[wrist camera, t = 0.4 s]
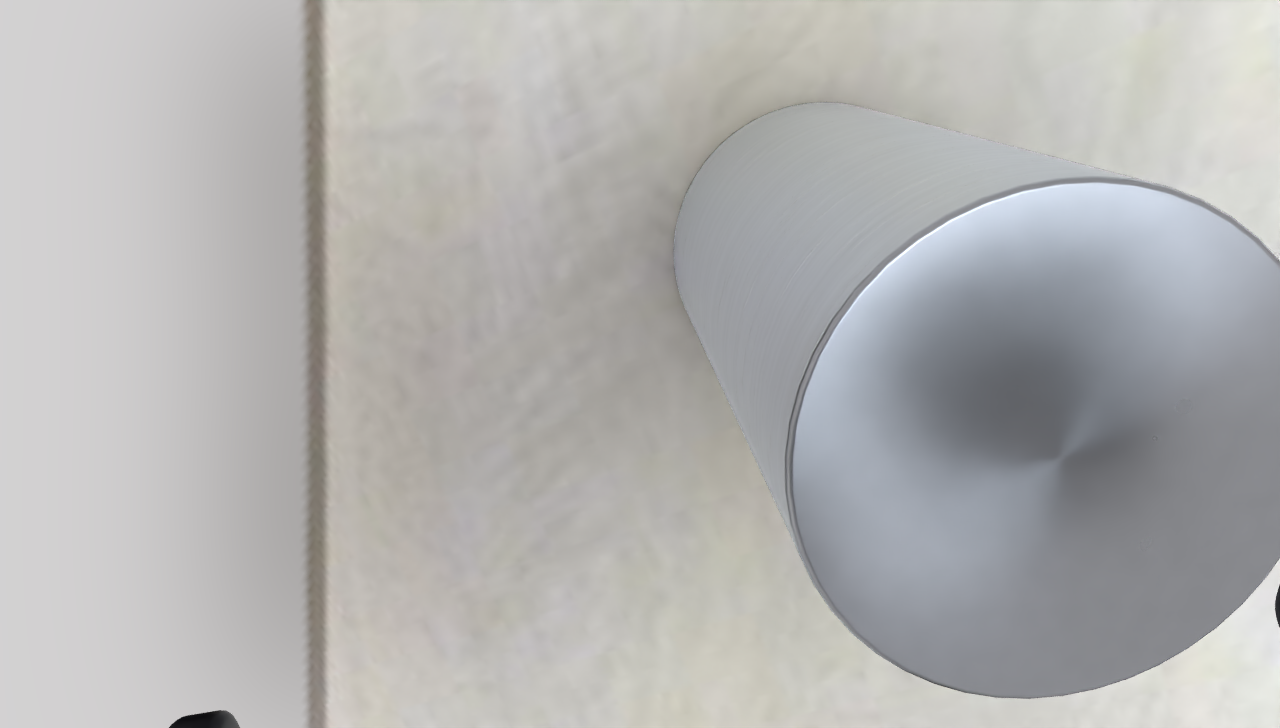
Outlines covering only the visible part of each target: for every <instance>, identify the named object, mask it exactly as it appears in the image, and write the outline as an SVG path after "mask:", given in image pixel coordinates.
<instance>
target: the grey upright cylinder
mask: <svg viewBox="0 0 1280 728" xmlns="http://www.w3.org/2000/svg"><path fill="white" fill-rule="evenodd" d="M673 250H674V270H675V275H676V281H677V287H678V290H679V293H680V296H681V299H682V302H683V305H684V307H685V309H686V311H687V313H688V316H689V318H690V320H691V322H692V324H693V326H694V329H695V331H696V333H697V335H698V337H699V339H700V341H701V344H702V346H703V348H704V350H705V352H706V354H707V357H708V359H709V361H710V363H711V365H712V367H713V369H714V372H715V374H716V376H717V378H718V380H719V382H720V385H721V387H722V389H723V391H724V393H725V395H726V397H727V400H728V402H729V404H730V406H731V408H732V410H733V413H734V415H735V417H736V419H737V421H738V423H739V426H740V428H741V430H742V432H743V434H744V436H745V438H746V441H747V443H748V445H749V447H750V449H751V451H752V454H753V456H754V458H755V460H756V462H757V464H758V466H759V469H760V471H761V473H762V475H763V477H764V479H765V482H766V484H767V486H768V488H769V490H770V492H771V494H772V497H773V499H774V501H775V503H776V505H777V507H778V510H779V512H780V514H781V516H782V518H783V520H784V522H785V525H786V527H787V529H788V531H789V533H790V535H791V538H792V540H793V542H794V544H795V546H796V548H797V550H798V553H799V555H800V557H801V559H802V561H803V563H804V565H805V567H806V570H807V572H808V574H809V576H810V578H811V580H812V582H813V584H814V586H815V587H816V589H817V590H818V592H819V593H820V595H821V596H822V598H823V599H824V601H825V602H826V604H827V605H828V607H829V608H830V610H831V611H832V612H833V613H834V614H835V615H836V616H837V618H838V619H839V620H840V621H841V622H842V623H843V624H844V625H845V626H846V627H847V629H848V630H849V631H850V632H851V633H852V634H853V635H854V636H856V637H857V638H858V639H859V640H860V641H862V642H863V643H864V644H865V645H866V646H868V647H869V648H870V649H871V650H872V651H874V652H875V653H876V654H878V655H879V656H881V657H883V658H884V659H886V660H888V661H889V662H891V663H892V664H894V665H896V666H897V667H899V668H901V669H902V670H904V671H906V672H909V673H911V674H913V675H916V676H918V677H920V678H922V679H925V680H927V681H929V682H931V683H934V684H937V685H941V686H944V687H948V688H951V689H955V690H958V691H961V692H965V693H971V694H978V695H984V696H990V697H998V698H1027V699H1030V698H1042V697H1054V696H1064V695H1069V694H1074V693H1079V692H1084V691H1089V690H1094V689H1097V688H1100V687H1104V686H1107V685H1110V684H1113V683H1116V682H1119V681H1122V680H1126V679H1128V678H1131V677H1133V676H1135V675H1137V674H1140V673H1142V672H1144V671H1146V670H1149V669H1151V668H1153V667H1156V666H1158V665H1160V664H1161V663H1163V662H1165V661H1167V660H1168V659H1170V658H1172V657H1174V656H1175V655H1177V654H1179V653H1181V652H1182V651H1184V650H1186V649H1187V648H1189V647H1190V646H1192V645H1193V644H1195V643H1196V642H1197V641H1199V640H1200V639H1201V638H1203V637H1204V636H1206V635H1207V634H1208V633H1210V632H1211V631H1212V630H1214V629H1215V628H1217V627H1218V626H1219V625H1220V624H1221V623H1222V622H1223V621H1224V620H1225V619H1226V618H1228V617H1229V616H1230V615H1231V614H1232V613H1233V612H1234V611H1235V610H1236V609H1238V608H1239V607H1240V606H1241V605H1242V604H1243V603H1244V602H1245V601H1246V599H1247V598H1248V597H1249V596H1250V595H1251V594H1252V593H1253V592H1254V590H1255V589H1256V588H1257V587H1258V586H1259V585H1260V584H1261V583H1262V581H1263V580H1264V579H1265V578H1266V577H1267V575H1268V574H1269V572H1270V571H1271V570H1272V568H1273V567H1274V565H1275V564H1276V563H1277V561H1278V560H1279V558H1280V261H1279V260H1278V259H1277V258H1276V256H1275V255H1274V254H1273V253H1272V252H1271V251H1270V250H1269V249H1268V248H1267V247H1266V246H1265V245H1264V243H1263V242H1262V241H1261V240H1260V239H1259V238H1258V237H1257V236H1256V235H1254V234H1253V233H1252V232H1250V231H1249V230H1248V229H1247V228H1245V227H1244V226H1243V225H1242V224H1240V223H1239V222H1238V221H1237V220H1235V219H1234V218H1233V217H1232V216H1230V215H1228V214H1226V213H1225V212H1223V211H1221V210H1219V209H1218V208H1216V207H1214V206H1212V205H1210V204H1209V203H1207V202H1205V201H1203V200H1202V199H1199V198H1197V197H1194V196H1192V195H1189V194H1186V193H1184V192H1181V191H1178V190H1176V189H1173V188H1171V187H1168V186H1164V185H1160V184H1157V183H1153V182H1149V181H1145V180H1141V179H1137V178H1133V177H1130V176H1126V175H1122V174H1118V173H1114V172H1110V171H1106V170H1103V169H1099V168H1095V167H1091V166H1087V165H1083V164H1079V163H1076V162H1072V161H1068V160H1064V159H1060V158H1056V157H1052V156H1049V155H1045V154H1041V153H1037V152H1033V151H1029V150H1025V149H1022V148H1018V147H1014V146H1010V145H1006V144H1002V143H999V142H995V141H991V140H987V139H983V138H979V137H975V136H972V135H968V134H964V133H960V132H956V131H952V130H948V129H945V128H941V127H937V126H933V125H929V124H925V123H921V122H918V121H914V120H910V119H906V118H902V117H898V116H894V115H891V114H887V113H883V112H879V111H875V110H871V109H867V108H863V107H859V106H855V105H850V104H845V103H833V102H816V103H804V104H799V105H794V106H789V107H785V108H782V109H779V110H776V111H773V112H770V113H768V114H766V115H764V116H762V117H760V118H757V119H755V120H753V121H751V122H750V123H748V124H747V125H745V126H744V127H742V128H741V129H739V130H738V131H736V132H735V133H733V134H732V135H731V136H730V137H729V138H728V139H726V140H725V141H724V142H723V143H722V144H721V145H719V147H718V148H717V149H716V150H715V151H714V152H713V153H712V154H711V155H710V157H709V158H708V159H707V160H706V161H705V163H704V164H703V166H702V167H701V168H700V170H699V171H698V173H697V174H696V176H695V177H694V179H693V181H692V183H691V185H690V187H689V189H688V191H687V193H686V195H685V198H684V201H683V203H682V206H681V209H680V212H679V216H678V220H677V225H676V229H675V238H674V249H673Z"/></svg>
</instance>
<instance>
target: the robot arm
mask: <svg viewBox="0 0 1280 728" xmlns="http://www.w3.org/2000/svg"><path fill="white" fill-rule="evenodd" d="M1275 611H1276V617H1277V621H1278V624H1279V627H1280V586H1279V589H1278V592H1277V596H1276V601H1275ZM169 728H240V727H239V725H238V723H237V721H236V719H235V718H234V716H233V715H232V714H231V713H229V712H227V711H221V710H219V711H213V712H207V713H201V714H195V715H188V716H185V717H182V718H180V719H178V720H177V721H175V722H174V723H173V724H172V725H171V726H170V727H169Z"/></svg>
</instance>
